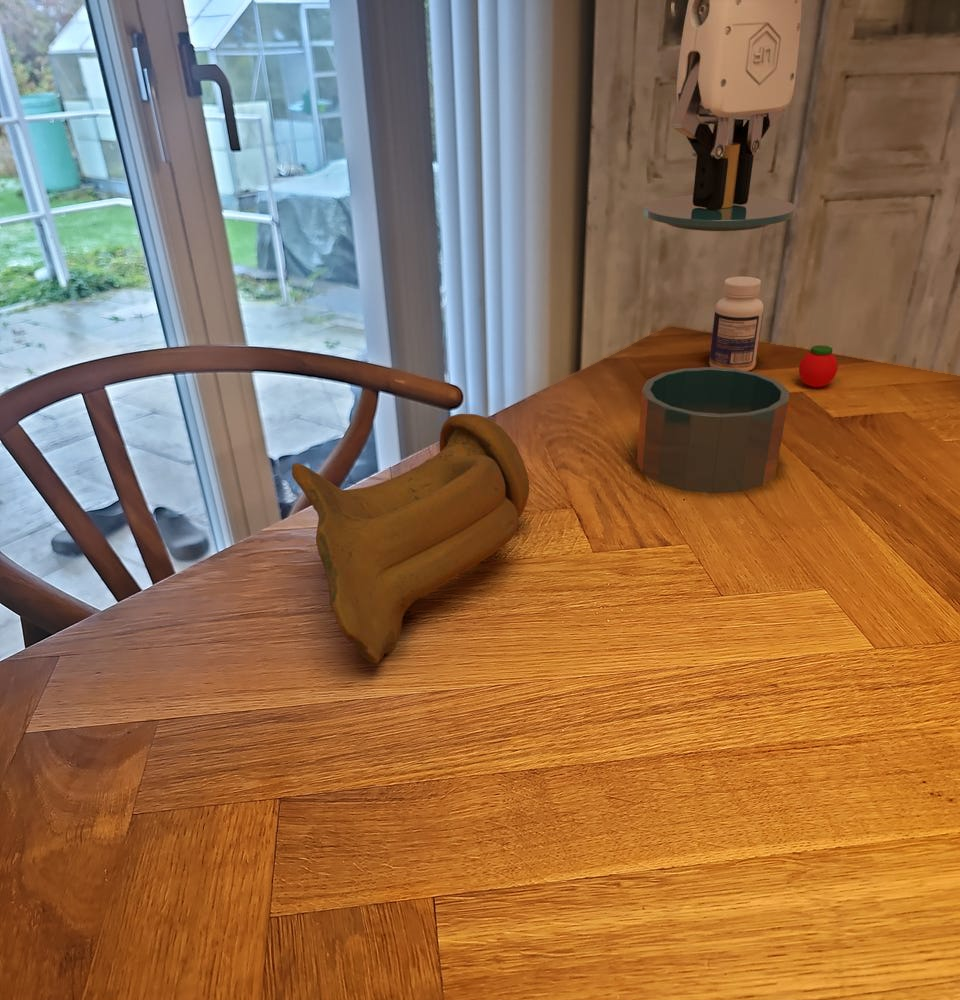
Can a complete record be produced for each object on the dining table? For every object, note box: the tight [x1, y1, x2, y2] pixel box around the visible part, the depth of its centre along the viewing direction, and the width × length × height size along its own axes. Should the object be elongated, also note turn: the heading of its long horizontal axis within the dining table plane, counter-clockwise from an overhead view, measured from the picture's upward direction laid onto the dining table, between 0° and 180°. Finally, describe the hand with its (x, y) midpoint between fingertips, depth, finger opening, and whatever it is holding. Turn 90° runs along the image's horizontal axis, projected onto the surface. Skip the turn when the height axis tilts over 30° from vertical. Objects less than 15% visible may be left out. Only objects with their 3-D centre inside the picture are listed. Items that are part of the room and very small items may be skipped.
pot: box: [636, 366, 790, 494], centre depth 79 cm, size 12×12×8 cm
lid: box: [643, 141, 797, 232], centre depth 79 cm, size 13×13×6 cm
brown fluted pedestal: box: [291, 413, 530, 664], centre depth 63 cm, size 18×13×22 cm
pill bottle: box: [708, 276, 765, 372], centre depth 102 cm, size 5×5×10 cm
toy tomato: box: [798, 344, 839, 388], centre depth 97 cm, size 4×4×4 cm
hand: (719, 203), depth 80 cm, fingers closed on lid, 2 cm apart
